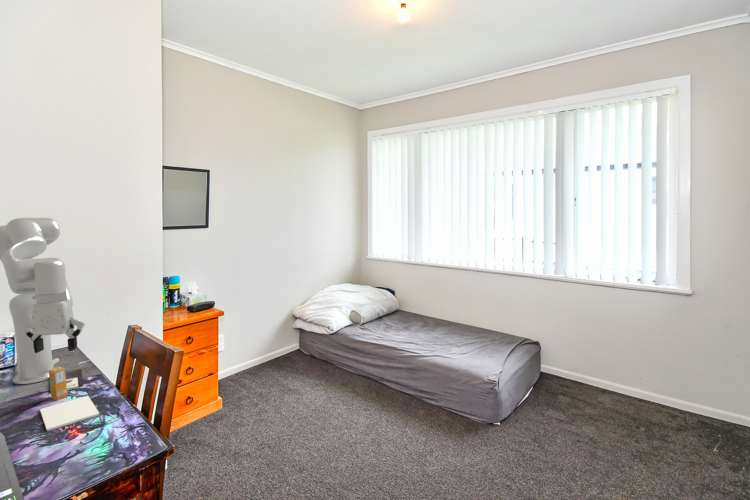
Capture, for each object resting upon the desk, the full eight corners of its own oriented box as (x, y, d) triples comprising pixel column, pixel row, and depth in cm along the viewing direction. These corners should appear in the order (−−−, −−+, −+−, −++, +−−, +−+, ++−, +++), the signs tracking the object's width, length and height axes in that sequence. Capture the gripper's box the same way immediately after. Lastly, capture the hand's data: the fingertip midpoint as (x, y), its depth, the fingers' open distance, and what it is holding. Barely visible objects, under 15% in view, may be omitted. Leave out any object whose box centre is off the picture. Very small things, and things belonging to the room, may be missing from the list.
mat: (40, 410, 116) (39, 409, 116) (88, 397, 125) (88, 395, 125) (47, 431, 105) (46, 429, 105) (99, 415, 114) (99, 413, 114)
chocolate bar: (81, 368, 147) (82, 384, 133) (81, 371, 147) (83, 387, 133) (50, 374, 141) (49, 392, 127) (51, 377, 141) (49, 394, 127)
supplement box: (49, 399, 123) (47, 369, 122) (61, 394, 126) (59, 365, 126) (56, 401, 122) (54, 371, 121) (68, 396, 125) (66, 367, 124)
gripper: (12, 302, 116) (16, 356, 118) (74, 299, 119) (78, 352, 120) (30, 297, 124) (34, 348, 125) (88, 295, 126) (92, 345, 128)
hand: (56, 350), depth 123 cm, fingers open, 9 cm apart
